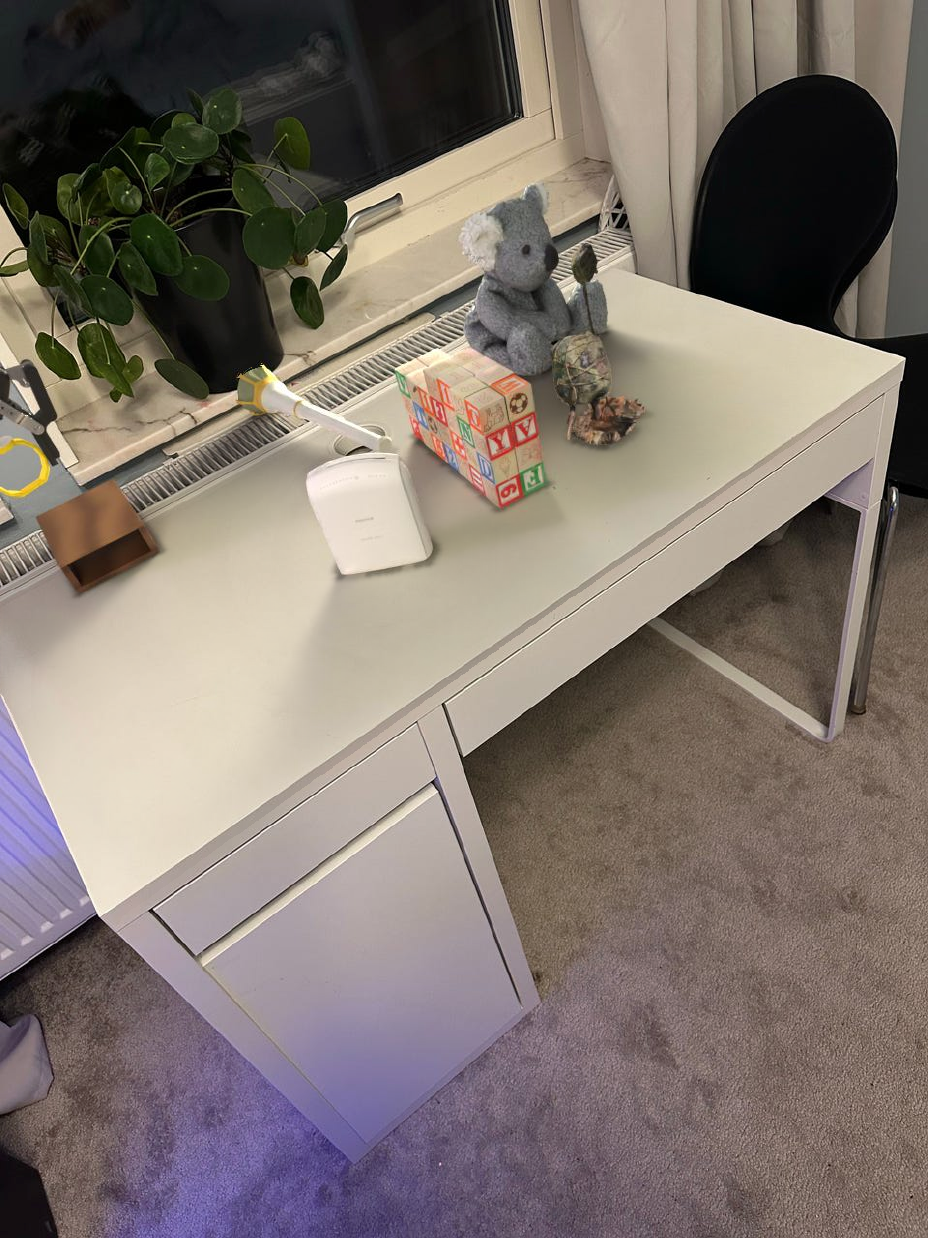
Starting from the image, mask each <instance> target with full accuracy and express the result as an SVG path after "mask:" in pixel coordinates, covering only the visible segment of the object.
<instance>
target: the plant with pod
mask: <svg viewBox="0 0 928 1238" xmlns="http://www.w3.org/2000/svg"><path fill="white" fill-rule="evenodd" d="M598 263H599V260H598V258H597V255H596V253H595V250H594V248H593V246H592V244H591V243H589V242H585V243H584V242H582V243H581V244H580V246H579V248H578V249H576V251H575V253H574V254H573V256H572V258H571V263H570V268H571V272H572V275H573V279H574V280H575V282H576V283H577V284H579V283H580V284H582V286H583V287H582V288H583V295H584V300H585V305H586V312H587V316H588V321H589V326H590V331H591V332H592V333H590V332H589V331H585V332H581V333H579V334H576V335H572V336H567V337H565V338H563V339H561V340H559V341H556V343H554V344H553V347H552V348H551V349H550V350H551V351H550V357H551V363H552V366H551V375H552V381H553V389H554V391H555V393H556V397H557V400H558V401H559V402H561V403H563V404H567V405H568V407H569V414H568V415H567V419H566V426H567V437H566V440H567V441H568V440H571V438H572V436H573V438H575V439H577V440H578V441H582V442H584V444H586V443H588V442H589V445H596V446H597V447H598V446H599V447H601V446H603V447H605V446H609V445H613V444H614V443H619V441H621V439H623V438H624V437H625V436H626V435H629V432H632V431H634V428H635V425H636V424H637V420H639V419H641V418H642V417H641V415H642V414H643V413H645V412H647V410H646V409H645V406H642V405H643V403H639V401H638V400H639V399H638V397H637V398H635V399H634V400H632V399H631V400H628V399H627V398H626V396H622V395H620V396H617V397H612V396H611V397H610V396H609V394H610V392H611V391H612V386H613V381H612V373H611V369H612V367H611V365H610V362H609V359H608V356H607V354H608V353H607V352H606V350H605V347H604V345H603V342H602V339H600V336H598V334H597V335H595V332H594V329H593V325H592V320H591V313H590V310H589V304H588V298H587V296H588V295H587V290H586V282H590V281H592V280H593V278H594V276H595V275H598V273H599V270H598V267H597V266H598ZM548 343H549V341H547V344H548ZM576 405H587V407H588V408H587V409H586V410H583V413H579V414H578V415H577V416H576V411H577V406H576ZM575 417H576V418H575ZM574 421H575V422H574Z"/></svg>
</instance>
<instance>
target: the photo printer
mask: <svg viewBox="0 0 928 1238" xmlns="http://www.w3.org/2000/svg"><path fill="white" fill-rule="evenodd" d="M306 476H307V477H306V479H305V485H306V486H305V487H306V490H307V497H308V499H309V502H310V504H311V507H312V510H313V511H314V515H315V516H316V519H317V521H318V523H319V525H320V528H321V530H322V533H323V535H324V537H325V539H326V540H325V541H326V542H327V544H328V547H329V550H330V551H331V554H332V556H333V558H334V561H335V563H336V565H337V568H338V570H339V572H340V574H341V575H356V574H362V573H367V572H368V573H369V572H373V571H380V570H386V569H391V568H397V567H400V566H407V565H410V564H415V563H419V562H423V561H426V560H427V559H429V558H430V557H431V555H432V553H433V551H434V545H433V542H432V539H431V536H430V532H429V530H428V527H427V523H426V520H425V517H424V513H423V511H422V508H421V505H420V502H419V497H418V495H417V493H416V489H415V486H414V482H413V480H412V477H411V474H410V470H409V469H408V467H407V466H406V464H405V461H404V459H403V457H402V456H401V454H397V453H390V452H389V453H376V452H366V453H359V454H351V455H346V456H343V457H340V458H336V459H333V460H330V461H328V462H325V463H323V464H321V465H319V466H317V467H316V468H315V467H314V469H312V470H310V471H309V472H307V474H306Z"/></svg>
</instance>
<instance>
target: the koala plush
mask: <svg viewBox="0 0 928 1238" xmlns="http://www.w3.org/2000/svg"><path fill="white" fill-rule="evenodd" d="M549 195H550V192H549V191H548V189H547V188H546V186H545V183H544V182H543V181H542V182H541V181H540V182H534V181H533V180H532V181H531V184H529V185H527V186H526V187H525V188H524V191H523V193H522V194H521V195H520V197H515V198H510V199H506V200H505V201H502V202H498V203H496V204H495V205H494V206H492V207H491V208H490V209H489V210H488V211H485V212H483V211H481V212H480V211H477V212H473V214H472V216H469V218H467V220H466V221H465V222H464V227H461V228H460V230H461V232H460V233H459V235H458V237H457V238H456V242H459V243H462V244H461V252H462V255H463V256H466V259H468V262H469V263H471V264H474V265H476V266H479V267H480V269H481V270H483V272H484V273H483V275H482V279H481V282H480V284H479V286H478V289H477V294H476V296H475V301H474V302H473V303H472V306H471V307H470V308H469V309H468V311H467V312H466V314H465V316H464V318H463V320H462V323H463V324H462V327H463V328H462V331H463V334H464V337H465V339H466V340H467V343H468V345H469V347H470V348H472V349H473V350H475V351H477V352H479V353H481V354H482V355H483V356H486V357H488V358H490V359H492V360H493V361H495V362H497V363H498V364H501V365H502V366H504V367H506V368H508V369H509V370H511V371H513V372H514V375H517V376H524V377H525V376H529V377H530V376H540V375H542V374H543V373H545V372H547V371H549V369H551V367H552V363H551V357H550V351H551V350H550V349H551V348H552V347H553V346H554V344H552V343H553V342H558V341H560V340H561V339H563V338H565V337H567V336H572V335H576V334H579V333H581V332H585V331H589V332H590V333H592V332H591V331H590V326H589V321H588V316H587V312H586V305H585V300H584V295H583V288H582V287H583V286H582V284H580V283H577V284H576V286H575V287H574V288H573V290H572V292H571V293H570V295H569V297H568V301H566V298H565V297H564V294H563V292H562V290H561V288H560V287H559V286H558V284H557V282H556V280H554V278H553V277H552V274H553V271H555V270H556V269H557V267H558V265H559V263H560V257H559V251H558V248H557V247H556V246H555V243H554V241H553V238H552V234H551V232H550V228H549V226H548V225H549V224H547V222H546V220H545V216H547V213H548V212H549V206H550V204H551V203H550V202H549ZM586 290H587V295H588V296H587V298H588V304H589V310H590V313H591V320H592V325H593V329H594V332H595V335H597V336H598V335H601V334H603V333H604V332H606V329H607V326H608V315H609V311H608V303H607V298H606V293H605V290H604V286H603V284H602V283H601V282H600V281H599V279H598V278H596V279H594V280H591V281H590V282H586ZM547 341H549V343H548V344H547Z"/></svg>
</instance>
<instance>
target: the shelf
mask: <svg viewBox="0 0 928 1238" xmlns="http://www.w3.org/2000/svg"><path fill="white" fill-rule="evenodd" d="M35 520H36V521H37V524H38V526H39V527H40V530H41V533H42V535H43V537H44V539H45V541H46V543H47V545H48V547H49V549H50V551H51V554H52V555H53V558H54V559H55V562H56V564H57V566H58V567H59V569H60V570H61V572H62V573H63V574H64V576H65V578H66V579H67V580H68V582H69V583H70V585H71V586H72V587H73V589H74V590H75V592H76V593H77V594H78V595H81V594H82V593H84V592H86V591H88V590H90V589H92V588H94V587H96V586H98V585H100V584H101V583H103V582H105V581H107V580H109V579H110V578H113V577H115V576H117V575H119V574H121V573H122V572H124V571H126V570H128V569H130V568H132V567H135V566H136V565H138V564H140V563H142V562H144V561H145V560H147V559H149V558H152V557H153V556H155V555H157V554H159V553H160V550H159V548H158V546H157V545H156V543H155V541H154V540H153V538H152V536H151V534H150V532H149V531H148V529H147V527H146V526H145V524H144V522H143V521H142V519H141V518H140V516H139V515H138V513H137V512H136V510H135V509H134V507H133V506H132V505H131V503H130V501H129V500H128V498H127V497H126V496H125V494H124V492H123V491H122V490H121V488H120V486H119V485H118V484H117V482H116V480H115V479H113V478H112V479H109V480H108V481H106V482H104V483H102V484H100V485H98V486H96V487H94V488H92V489H89V490H87V491H86V492H84V493H81V494H79V495H77V496H75V497H73V498H71V499H69V500H67V501H65V502H62V503H61V504H59V505H57V506H55V507H53V508H50V509H49V510H47V511H45V512H43V513H40V514H39V515H36V516H35Z"/></svg>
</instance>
